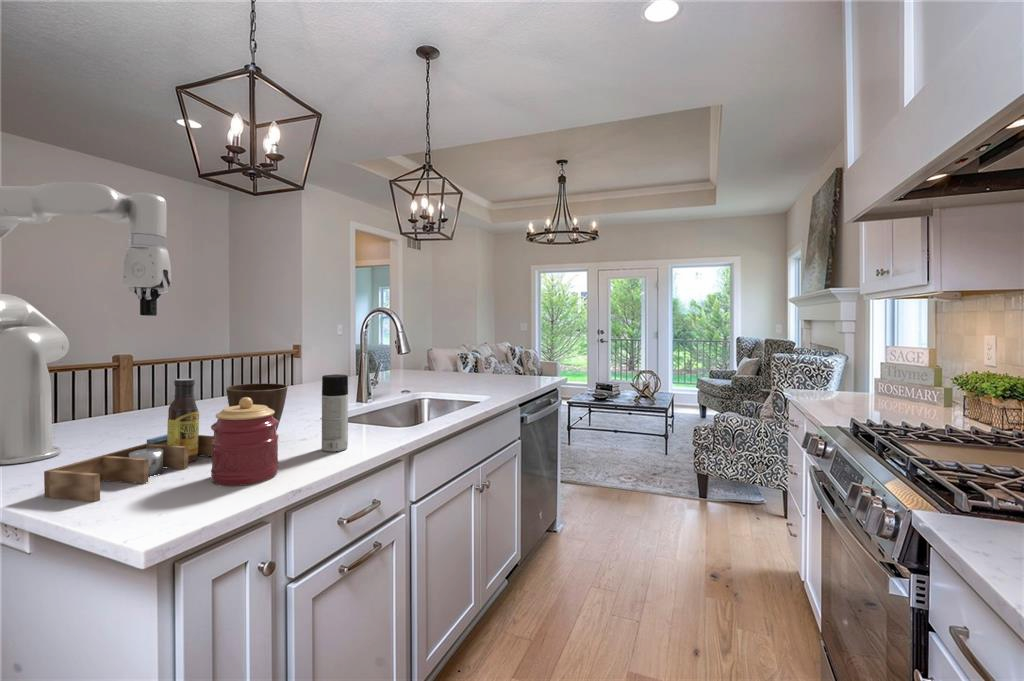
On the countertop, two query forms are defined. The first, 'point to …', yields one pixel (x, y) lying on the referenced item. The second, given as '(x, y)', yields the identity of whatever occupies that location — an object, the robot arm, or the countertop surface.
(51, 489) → the caddy
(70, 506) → the countertop surface
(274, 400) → the plant pot
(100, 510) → the countertop surface
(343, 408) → the spray can
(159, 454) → the tin
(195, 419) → the sauce bottle
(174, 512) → the countertop surface
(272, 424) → the canister
